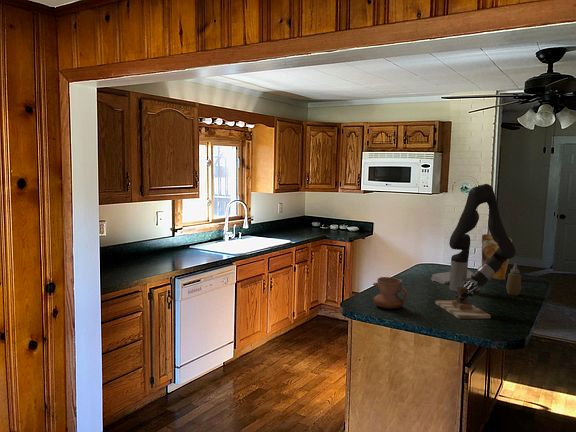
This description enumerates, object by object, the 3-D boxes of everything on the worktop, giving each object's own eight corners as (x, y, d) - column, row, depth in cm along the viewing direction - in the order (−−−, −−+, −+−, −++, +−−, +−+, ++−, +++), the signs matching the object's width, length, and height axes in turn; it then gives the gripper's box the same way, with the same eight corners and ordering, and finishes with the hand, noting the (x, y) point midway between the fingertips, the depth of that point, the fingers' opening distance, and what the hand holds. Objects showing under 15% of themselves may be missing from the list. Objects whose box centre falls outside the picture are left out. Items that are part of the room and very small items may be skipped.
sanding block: (451, 304, 250) (453, 285, 249) (462, 304, 251) (464, 285, 249) (460, 309, 241) (461, 289, 240) (471, 309, 242) (473, 289, 241)
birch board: (435, 303, 257) (435, 300, 257) (463, 302, 260) (463, 300, 260) (459, 318, 232) (459, 315, 232) (490, 318, 234) (490, 315, 234)
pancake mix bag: (480, 274, 334) (483, 233, 331) (509, 279, 321) (513, 237, 318) (476, 275, 329) (480, 234, 326) (506, 280, 316) (509, 238, 313)
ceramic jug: (366, 307, 246) (368, 279, 244) (377, 300, 258) (379, 274, 256) (401, 314, 237) (403, 286, 235) (410, 307, 249) (413, 280, 247)
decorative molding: (476, 282, 321) (464, 275, 329) (479, 276, 320) (466, 269, 327) (442, 288, 302) (430, 280, 310) (445, 281, 301) (432, 274, 308)
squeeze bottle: (506, 291, 287) (508, 261, 285) (521, 294, 283) (524, 263, 281) (504, 294, 280) (507, 263, 278) (520, 297, 276) (522, 265, 274)
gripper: (471, 266, 252) (447, 290, 251) (486, 272, 238) (460, 297, 237) (480, 276, 253) (456, 300, 252) (495, 283, 239) (470, 308, 239)
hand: (458, 298), depth 245 cm, fingers closed on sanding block, 3 cm apart
